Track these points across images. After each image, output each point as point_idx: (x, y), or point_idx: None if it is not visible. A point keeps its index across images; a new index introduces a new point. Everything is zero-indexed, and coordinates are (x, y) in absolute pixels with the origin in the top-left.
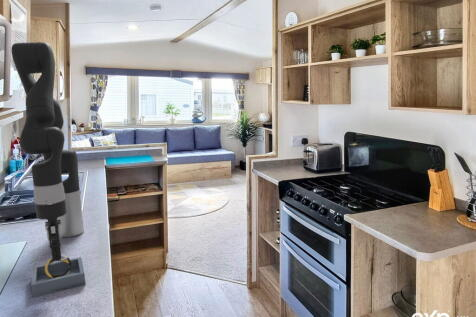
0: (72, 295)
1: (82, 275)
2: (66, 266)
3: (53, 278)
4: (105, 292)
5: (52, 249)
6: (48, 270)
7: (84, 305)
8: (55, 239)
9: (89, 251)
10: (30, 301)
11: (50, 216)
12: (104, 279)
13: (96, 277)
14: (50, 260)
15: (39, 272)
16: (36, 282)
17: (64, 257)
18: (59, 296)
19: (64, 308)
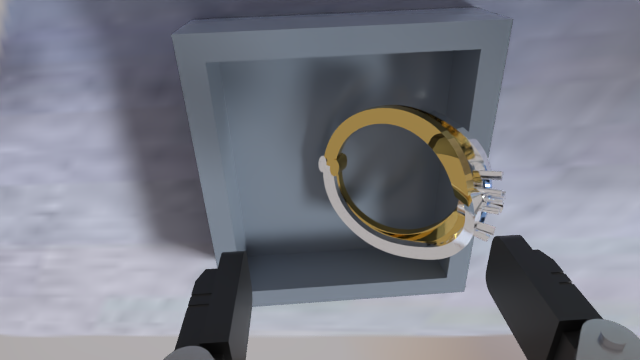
0: (141, 214)
1: None
2: (443, 203)
3: (334, 137)
4: (123, 325)
5: (203, 340)
6: (455, 108)
7: (24, 259)
8: (533, 327)
9: (626, 274)
10: (143, 9)
11: None
12: (251, 324)
13: None
14: (450, 164)
15: (463, 52)
16: (202, 68)
17: (447, 242)
18: (151, 159)
19: (13, 185)
